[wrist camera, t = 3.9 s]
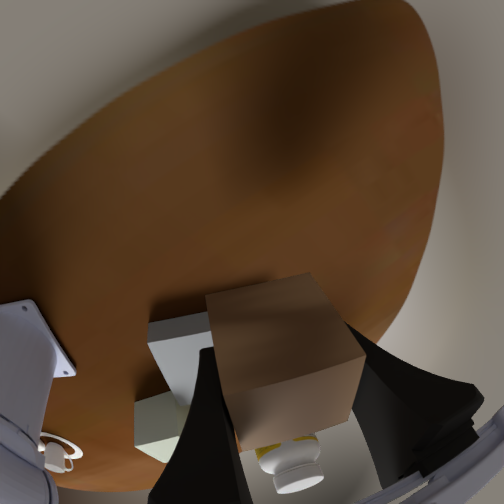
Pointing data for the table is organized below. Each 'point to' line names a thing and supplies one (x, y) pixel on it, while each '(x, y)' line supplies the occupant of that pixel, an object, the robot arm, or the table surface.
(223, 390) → the walnut block
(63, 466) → the teacup and saucer
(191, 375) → the slate slab
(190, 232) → the table surface
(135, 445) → the sage block
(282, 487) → the supplement bottle
